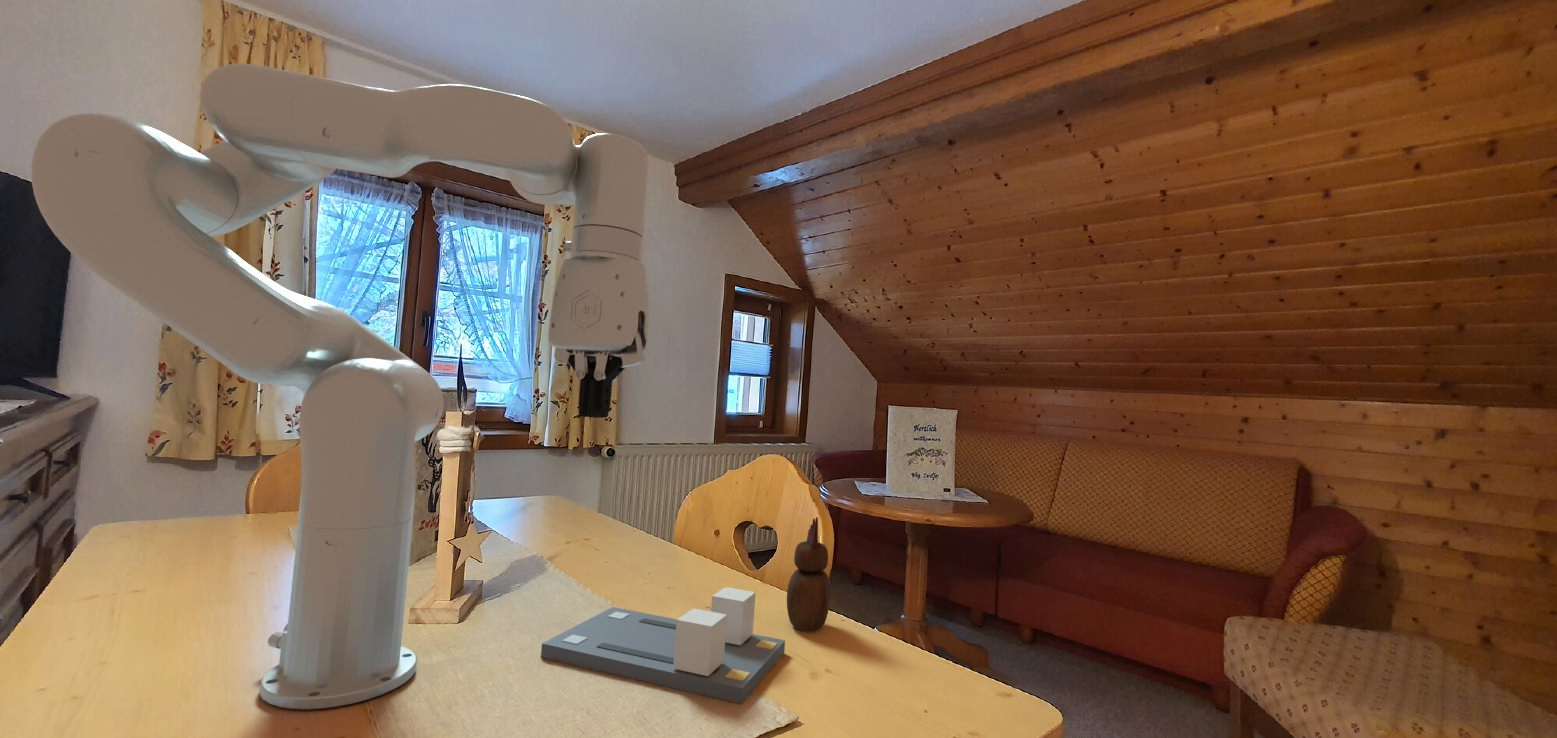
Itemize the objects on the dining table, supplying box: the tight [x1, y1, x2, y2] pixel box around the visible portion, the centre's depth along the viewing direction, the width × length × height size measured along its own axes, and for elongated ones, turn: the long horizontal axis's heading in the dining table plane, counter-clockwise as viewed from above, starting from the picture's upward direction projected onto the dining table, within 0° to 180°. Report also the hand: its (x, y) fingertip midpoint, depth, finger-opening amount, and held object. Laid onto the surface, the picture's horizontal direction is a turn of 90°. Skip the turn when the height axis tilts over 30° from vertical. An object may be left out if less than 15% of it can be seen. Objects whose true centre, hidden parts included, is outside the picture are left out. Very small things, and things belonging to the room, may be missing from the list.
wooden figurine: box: [786, 516, 832, 632], centre depth 85 cm, size 7×6×15 cm
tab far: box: [710, 586, 756, 645], centre depth 75 cm, size 4×4×5 cm
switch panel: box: [540, 606, 786, 704], centre depth 73 cm, size 24×14×2 cm, turn 72°
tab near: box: [673, 607, 727, 676], centre depth 67 cm, size 4×4×5 cm
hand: (593, 416), depth 69 cm, fingers closed
